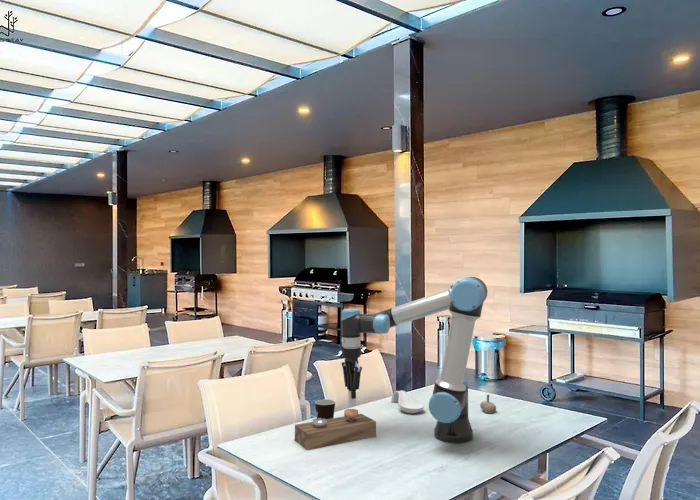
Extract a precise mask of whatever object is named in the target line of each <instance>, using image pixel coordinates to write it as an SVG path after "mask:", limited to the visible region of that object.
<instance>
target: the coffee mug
mask: <svg viewBox="0 0 700 500" xmlns="http://www.w3.org/2000/svg"><path fill="white" fill-rule="evenodd" d="M314 402H315V403H314V405H315V406H314V407H315V413H316V415H315V416H316V418H325V419H332V418H335V417H334V415H335V408H336V401H335V400H334V399H329V398H328V399H318V400H315V401H314Z"/></svg>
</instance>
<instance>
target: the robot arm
mask: <svg viewBox="0 0 700 500" xmlns="http://www.w3.org/2000/svg"><path fill="white" fill-rule="evenodd" d="M487 296H488V287H487V285H486V284H485V282H484V281H483V280H481V278H479V277H476V276H468V277H461V278H459V279H458V280H457V281H455V282H454V284H452V285H450V286H449V288H447V289H445V290H442V291H439V292H436V293H433V294H430V295H427V296H424V297H422V298H418V299H416V300H415V299H414V300H413V301H409V302H407V303H403V304H399V305H397V306H394V307H391V308H388V309H384V310H381V311H379V312H376V313H365V314H364V313H361V310H360V309H359V308H355V307H354V308H344V309H342V311H341V320H340V322H341V323H340V324H341V341H340V342H341V347H342V348H341V357H343V358H344V362H343V361H342V362H341V368H342V373H343V381H344V387H345V388H347V394H348V395H347V397H348V399H347V401H348V402H347V403H348V407H350V408H352V407H357V390H359V389H360V384H361V374H362V370H363V367H362V366H360V365H359V358H360V357H361V355H362V352H361V349H362V348H361V344H362V343H361V334H376V335H377V334H378V335H382V334H388V332H389V330H390V329H391V328H393V327H394V328H395V327H396V326H397V327H398V326H399V325H404V324H405V323H409V322H412V321H415V320H418V319H422V318H425V317H428V316H432V315H434V314H439V313H441V312H445V311H449V313H450V314H451V321H450V325H449V328H448V329H449V331H448V335H447V340H446V346H445V350H444V357H443V361H442V366H441V370H440V371H441V372H440V376H439V377H438V378H436V379H435V382H434V386H433V390H432V395H431V397H430V399H429V401H428V411H429V413H430V414H431V416H432V417H433V419H435V420H436V424H435V427H434V431H433V432H434V435H433V436H434V437H435V438H436V439H437V440H439V441H442V442H446V443H452V444H455V443H456V444H457V443H458V444H462V443H467V442H470V441H472V440H473V439H474V432H473V429H472V426H471V423H470V419H469V388H470V387H469V382H468V381H467V379H466V378H465V374H466V370H467V366H468V365H467V364H468V360H469V356H470V355H469V354H470V349H471V344H472V339H473V335H474V329H475V323H476V321H477V320H478V319H480V318H481V317H482V316H481V315H482V311H483V306H484V303H485V301H486V299H487Z"/></svg>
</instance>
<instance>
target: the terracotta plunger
mask: <svg viewBox="0 0 700 500" xmlns="http://www.w3.org/2000/svg"><path fill="white" fill-rule="evenodd" d="M358 414H359V410H358V409H355V408H347V409H344V414H343V416H345V417H347V418H349V422H350V421H353V418H356V417H358Z"/></svg>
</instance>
